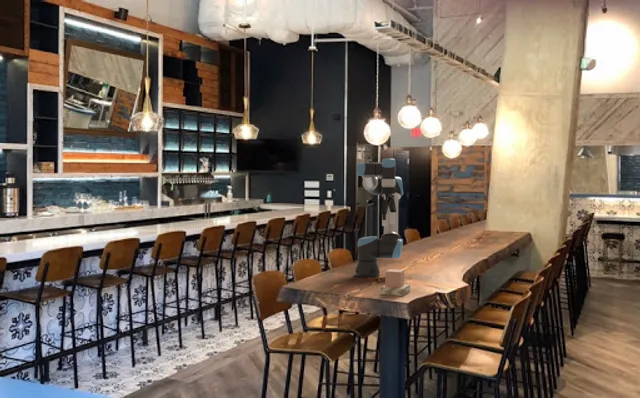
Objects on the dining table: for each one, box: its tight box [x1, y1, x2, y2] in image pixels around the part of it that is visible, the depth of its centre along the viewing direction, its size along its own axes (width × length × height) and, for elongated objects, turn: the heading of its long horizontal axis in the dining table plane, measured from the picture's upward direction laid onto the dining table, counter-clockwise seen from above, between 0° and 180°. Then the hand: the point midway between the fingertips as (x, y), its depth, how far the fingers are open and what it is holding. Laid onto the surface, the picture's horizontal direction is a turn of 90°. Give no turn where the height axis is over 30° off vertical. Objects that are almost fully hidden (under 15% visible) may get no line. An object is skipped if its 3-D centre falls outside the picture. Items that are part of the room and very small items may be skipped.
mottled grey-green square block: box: [380, 283, 411, 297], centre depth 324 cm, size 12×12×4 cm
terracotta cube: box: [384, 268, 405, 288], centre depth 323 cm, size 8×8×8 cm
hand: (388, 225), depth 348 cm, fingers open, 13 cm apart
